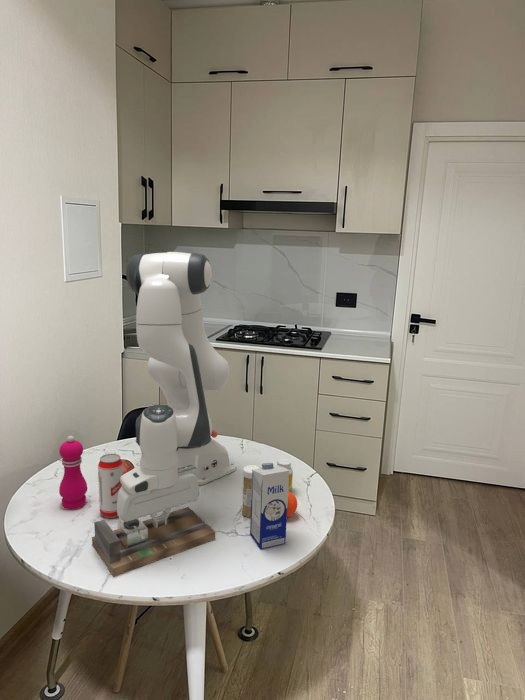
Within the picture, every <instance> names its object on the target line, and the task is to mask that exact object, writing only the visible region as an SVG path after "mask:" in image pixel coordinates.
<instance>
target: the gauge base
mask: <svg viewBox="0 0 525 700" xmlns="http://www.w3.org/2000/svg"><path fill="white" fill-rule="evenodd" d="M160 516H161V515H157V516H155V517H156V518H157V517H160ZM141 521H142V522H143V523H144V525H145V526H146V527H147V528H148V541H147V542H144V543H141V544H138V545H135V546H132V547H129V548H126V547H125V546H124V545H123V543H122V542H121V541H120V539H119V538H118V528H117V529H112V528H111V526H110V525H109V524H108V522H107V521H106V519H101V520H98V521H94V522H93V523H94V525H93V527H94V535H93V536H91V543H92V544H91V545H92V547H93V548H94V550H95V552H97V554H98V556H99V557H100V558H101V561H102V562H103V564H104V565H105V566H106V568H107V569H108V571H109V572H110V574H111V575H112V577H113V578H114V577H116V576H119V575H121V574H123V573H127V572H130V571H133V570H136V569H138V568H140V567H143V566H146V565H148V564H152V563H154V562H158V561H159V560H162V559H165V558H167V557H171V556H174V555H176V554H179V553H181V552H184V551H187V550H190V549H192V548H195V547H198V546H200V545H203V544H206V543H209V542H211V540H212V541H214V540H216V530H214V529H213V528H212V527H211V526H209V524H208V523H206V521H204V520H203V519H202V518H201V517H200V516H199V515H198V514H197V513H196V512H195V511H194V510H192V509H191V508H190V507H189V506H187V507H183V508H180V509H178V510H173V511H171V513H170V514H169V516H168V518H167V524H166V525H163V526H160V527H157V528H155V527H154V526H153V519H152V518H151V517H150V518H149V519H145V520H141ZM208 541H209V542H208Z"/></svg>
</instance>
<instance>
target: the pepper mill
mask: <svg viewBox="0 0 525 700" xmlns="http://www.w3.org/2000/svg"><path fill="white" fill-rule="evenodd" d="M83 453H84V447H83V444H82V442H80V441H78V440H75V437H74V436H73V435H68V436H67V438H66V441H64V442H63V443H61V445H60V447H59V453H58V454H59V455H60V458H62V459H61V464H62V466H63V469H64V470H63V471H64V472H63V476H62V479H61V481H60V484H59V489H58V490H59V491H58V493H59V495H60V497H61V507H62V508H63V509H65V510H77V509H80V508H82V507H84V506H85V505H86V503H87V496H86V493H87V492H88V483H87V480H86V479H85V477H84V476H83V473H82V469H81V464H82V461H83V460H82V458H83V457H82V455H83Z"/></svg>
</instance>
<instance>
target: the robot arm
mask: <svg viewBox="0 0 525 700" xmlns="http://www.w3.org/2000/svg"><path fill="white" fill-rule="evenodd" d="M125 271H126V273H125V275H126V277H125V278H126V282H127V284H128V287H129V289H130V290H132V292H133V293H134V294H136V296H137V302H136V312H135V313H136V315H135V316H136V317H135V323H136V324H135V325H136V326H135V327H136V328H135V329H136V330H135V331H136V340H137V344H138V347H139V349H140V350H141V351H142V352H143V353H144V354H145V355H147V356H148V357H149V359H148V361H147V364H146V365H147V366H146V367H147V373H148V376H149V377H150V378H151V379H152V380H153V381H154V382H155V384H156V385H158V387H159V388H160V390H161V391H162V393H163V395H164V398H165V399H166V402H167V405H165V404H153V405H150V406H147V407H146V408H145V409H143V411H142V412H141V413H140V415H138V417H137V418H136V420H135V442H136V444H137V445H138V446H139V448H140V453H141V458H140V461H139V465H137V466H136V467H134V468H132V469H130V470H129V471H127V472H126V473H123V475H122V476H121V477H120V482H121V484H122V487H121V488H120V490H119V492H118V498H117V514H118V517H119V518H120V520H122V522H123V521H124V522H128V521H131V520H134V519H137V518H139V519H140V518H143V517H144V518H145V517H146V516H149V517H150V519H151V518H152V519H153V526H154V527H155V528H157V527H160V526H163V525H166V524H167V518H168V516H169V514H170V513H171V512H172V509H173V508H176V507H179V506H183V505H186V504H189V503H191V502H195V501H197V500H198V499H199V497H200V486H202V485H206V484H208V483H210V482H212V481H215V480H217V479H220V478H222V477H224V476H226V475H228V474H231V473H233V472H235V471H237V465H236V463H235V462H234V461H233V460H232V459H231V458H230V457H229V452H228V450H227V449H226V447H224V445H222V444H221V443H220V442H218V441H217V440H215V438H217V437H218V434H219V433H218V432H217V431H216V430H214V429H213V424H212V420H211V416H210V413H209V411H208V408H207V404H206V396H205V391H207V392H208V391H220V390H222V389H223V388H224V387H226V385H228V382H229V380H230V375H231V369H230V364H229V363H228V361H227V359H226V358H224V357H223V356H222V355H221V354H220V353H218V352H217V350H216V349H215V348H214V346H213V345H212V343H211V342H210V340H209V338H208V336H207V333H206V329H205V322H204V315H203V305H202V297H201V294H202V293H205V292H206V291H207V290H208V289H209V288H210V286H211V285H210V284H211V281H212V277H213V273H212V272H213V271H212V266H211V263H210V260H209V258H208V257H207V256H205V255H204V254H202V253H197V252H192V253H188V252H181V251H167V252H155V253H154V252H152V253H144V252H143V253H138V254H135V255H133V256H132V257H131V258H130V259H129V260H128V262H127V265H126V270H125ZM160 512H162V514H160V515H159V516H160V517H158V513H160ZM156 517H157V518H156Z"/></svg>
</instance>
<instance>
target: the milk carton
mask: <svg viewBox="0 0 525 700" xmlns="http://www.w3.org/2000/svg"><path fill="white" fill-rule="evenodd" d="M289 471H290V470H288V469H287V468H284V467H281V466H278V465H277V464H276V465H274V463H273V462H266V463H262V464H261V468H260V467H259V469H252V492H251V517H250V524H249V525H250V527H249V535H250V537H251V539H253V541H254V542H255V544H256V545H257V547H258V548H259V550H264V549H269V548H273V547H277V546H282V545H286V542H287V541H286V540H287V537H286V536H287V535H286V534H287V522H288V521H287V520H288V517H287V504H288V485H289Z"/></svg>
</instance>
